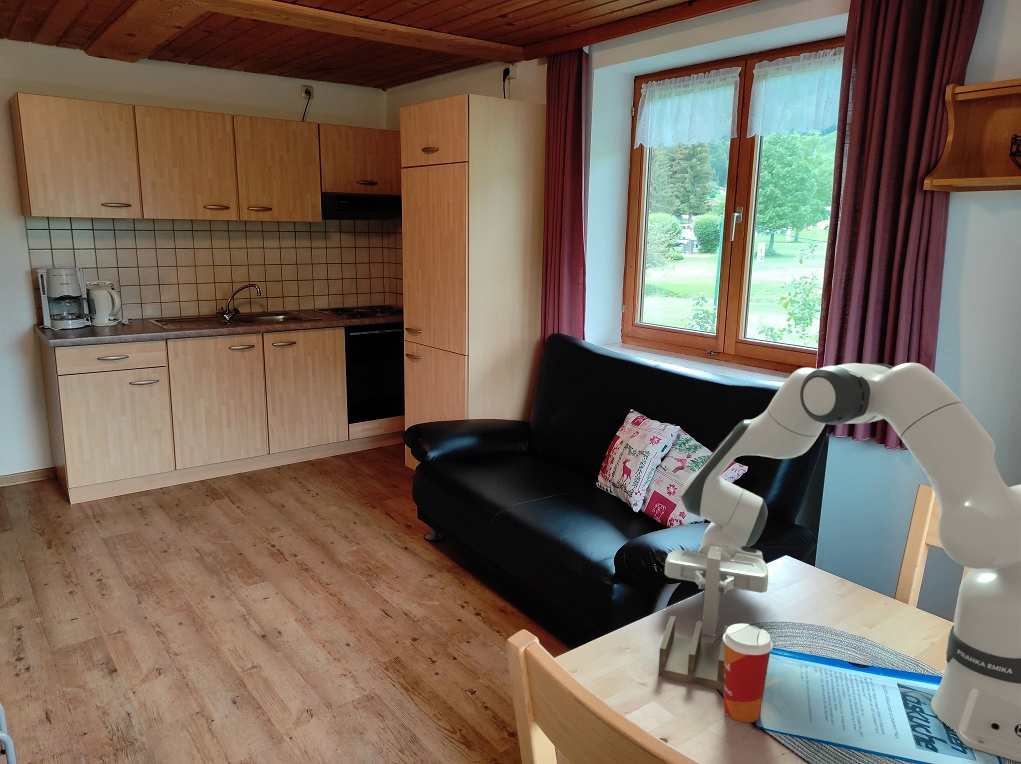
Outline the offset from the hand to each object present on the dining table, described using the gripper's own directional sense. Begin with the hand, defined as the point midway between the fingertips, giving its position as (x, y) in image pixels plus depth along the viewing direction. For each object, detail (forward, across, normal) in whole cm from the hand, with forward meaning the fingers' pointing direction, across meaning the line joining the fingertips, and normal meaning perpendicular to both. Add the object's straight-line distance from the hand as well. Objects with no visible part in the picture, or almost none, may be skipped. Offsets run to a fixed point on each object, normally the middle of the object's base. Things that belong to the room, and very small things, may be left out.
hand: (712, 587), depth 146 cm
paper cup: (+24, +8, +9) cm, 27 cm away
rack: (+13, +1, +9) cm, 16 cm away
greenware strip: (-1, 0, +9) cm, 9 cm away
